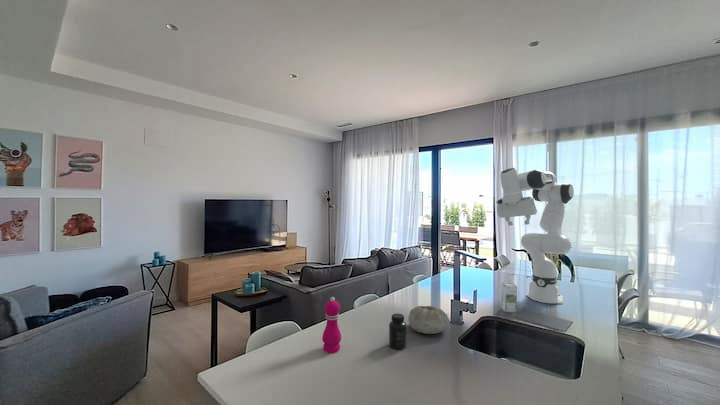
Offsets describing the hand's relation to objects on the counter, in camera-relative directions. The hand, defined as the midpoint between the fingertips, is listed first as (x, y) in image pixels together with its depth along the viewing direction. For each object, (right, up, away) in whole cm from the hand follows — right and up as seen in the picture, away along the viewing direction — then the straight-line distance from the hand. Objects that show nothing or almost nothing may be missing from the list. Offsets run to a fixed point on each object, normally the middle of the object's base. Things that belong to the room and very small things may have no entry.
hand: (518, 224), depth 153 cm
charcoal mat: (+6, -46, -10) cm, 47 cm away
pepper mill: (-94, -45, -42) cm, 112 cm away
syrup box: (-4, -46, +2) cm, 46 cm away
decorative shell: (-53, -45, -23) cm, 73 cm away
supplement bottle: (-69, -45, -38) cm, 90 cm away
